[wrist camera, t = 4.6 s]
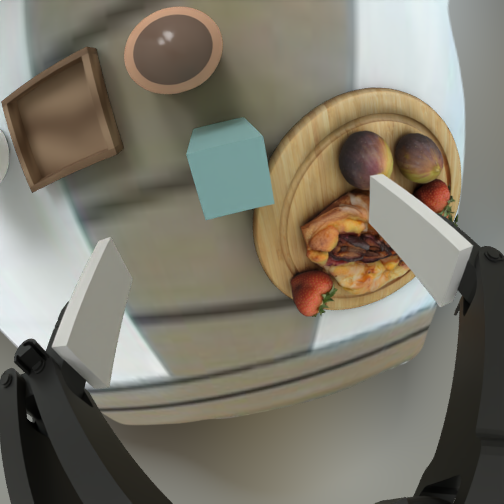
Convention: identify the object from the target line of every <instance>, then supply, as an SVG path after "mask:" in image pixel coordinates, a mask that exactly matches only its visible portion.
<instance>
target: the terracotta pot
mask: <svg viewBox="0 0 504 504" xmlns="http://www.w3.org/2000/svg"><path fill="white" fill-rule="evenodd" d="M222 50H223V41H222V36H221V32H220V30H219V28H218V26H217V25H216V23H215V22H214V21H213V20H212V19H211V18H210V17H209V16H208V15H206V14H205V13H203V12H201V11H199V10H196V9H193V8H189V7H170V8H165V9H162V10H159V11H157V12H154V13H152V14H151V15H149V16H147V17H146V18H145V19H143V20H142V21H141V22H140V23H139V24H138V25H137V26H136V27H135V28H134V30H133V31H132V32H131V34H130V36H129V38H128V40H127V43H126V46H125V52H124V60H125V65H126V69H127V71H128V73H129V75H130V76H131V78H132V79H133V80H134V81H135V82H136V83H137V84H138V85H139V86H141V87H142V88H144V89H146V90H148V91H151V92H154V93H159V94H176V93H181V92H184V91H187V90H190V89H193V88H195V87H198V86H199V85H201V84H203V83H204V82H205V81H206V80H208V79H209V78H210V76H211V75H212V74H213V72H214V71H215V69H216V67H217V65H218V63H219V61H220V58H221V55H222Z"/></svg>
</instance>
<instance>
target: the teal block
mask: <svg viewBox="0 0 504 504" xmlns="http://www.w3.org/2000/svg"><path fill="white" fill-rule="evenodd" d="M186 155H187V158H188V162H189V165H190V169H191V172H192V176H193V179H194V183H195V186H196V189H197V193H198V196H199V200H200V203H201V206H202V210H203V213H204V216H205V219H206V220H209V219H213V218H217V217H221V216H225V215H229V214H233V213H237V212H241V211H246V210H250V209H254V208H258V207H263V206H267V205H272V204H275V203H274V197H273V191H272V185H271V179H270V173H269V167H268V161H267V156H266V150H265V144H264V139H263V136H262V135H261V134H260V133H259V132H258V131H257V130H256V129H255V128H254V127H253V126H252V125H251V124H250V123H249V122H248V121H247V120H246V119H245V118H244V117H242V118H237V119H232V120H228V121H223V122H219V123H215V124H211V125H207V126H203V127H199V128H195V129H193V132H192V136H191V139H190V143H189V146H188V150H187V154H186Z"/></svg>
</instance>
